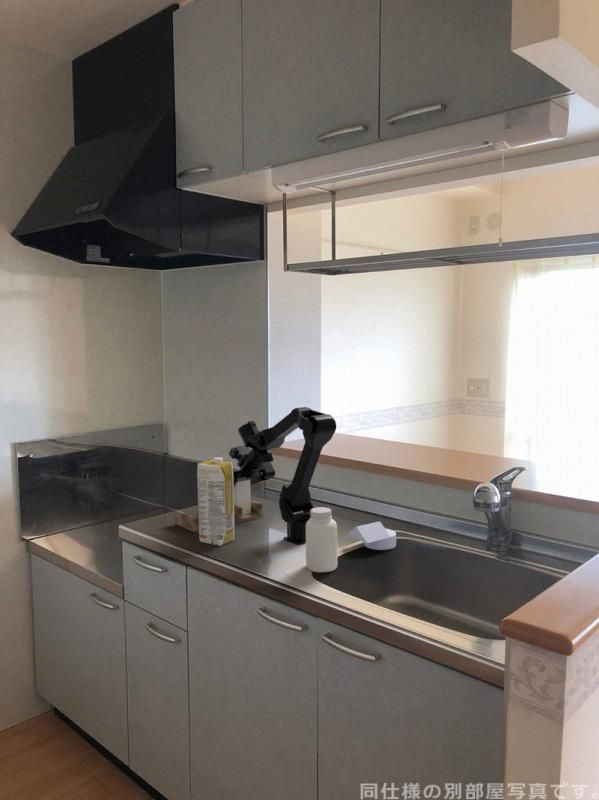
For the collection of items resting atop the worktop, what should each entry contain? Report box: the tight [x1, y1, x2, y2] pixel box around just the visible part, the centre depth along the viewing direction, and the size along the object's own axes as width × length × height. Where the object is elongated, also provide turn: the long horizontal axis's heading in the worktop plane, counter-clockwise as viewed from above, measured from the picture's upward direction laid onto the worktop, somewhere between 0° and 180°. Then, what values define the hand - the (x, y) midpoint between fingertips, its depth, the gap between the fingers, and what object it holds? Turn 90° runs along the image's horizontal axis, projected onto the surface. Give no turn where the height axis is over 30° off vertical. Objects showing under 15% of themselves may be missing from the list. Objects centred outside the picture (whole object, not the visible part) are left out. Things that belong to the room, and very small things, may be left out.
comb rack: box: [174, 499, 264, 534], centre depth 204 cm, size 12×25×4 cm, turn 132°
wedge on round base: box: [345, 521, 397, 551], centre depth 179 cm, size 9×7×13 cm
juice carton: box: [196, 457, 235, 547], centre depth 183 cm, size 9×8×24 cm
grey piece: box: [234, 478, 252, 515], centre depth 209 cm, size 5×5×13 cm
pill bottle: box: [305, 506, 338, 573], centre depth 163 cm, size 8×8×15 cm
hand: (237, 487), depth 209 cm, fingers open, 9 cm apart
